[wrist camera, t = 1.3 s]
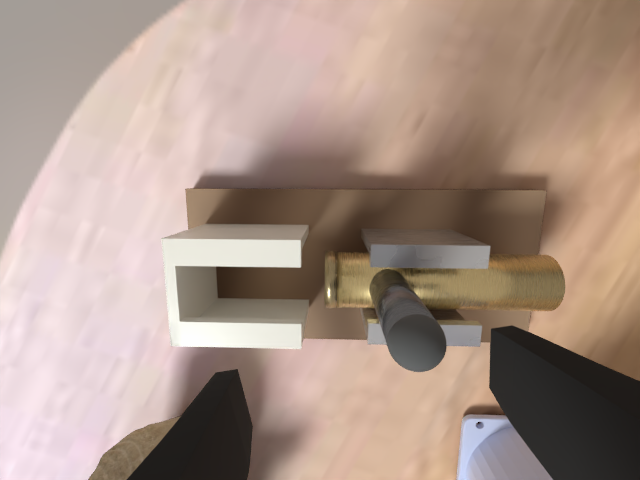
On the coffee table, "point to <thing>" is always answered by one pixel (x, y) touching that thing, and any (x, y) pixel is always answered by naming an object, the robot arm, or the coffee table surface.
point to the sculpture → (131, 451)
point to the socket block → (231, 313)
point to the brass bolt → (438, 296)
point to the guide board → (377, 246)
